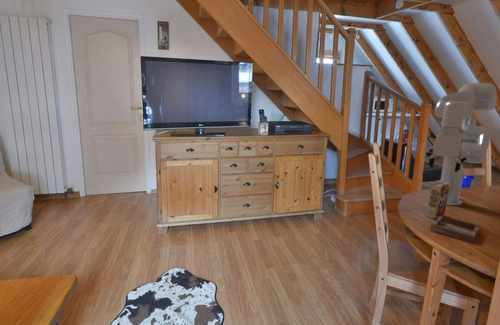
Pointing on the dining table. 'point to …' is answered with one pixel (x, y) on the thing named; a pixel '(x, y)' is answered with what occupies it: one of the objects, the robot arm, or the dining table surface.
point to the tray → (455, 228)
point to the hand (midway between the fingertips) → (443, 169)
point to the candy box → (438, 200)
